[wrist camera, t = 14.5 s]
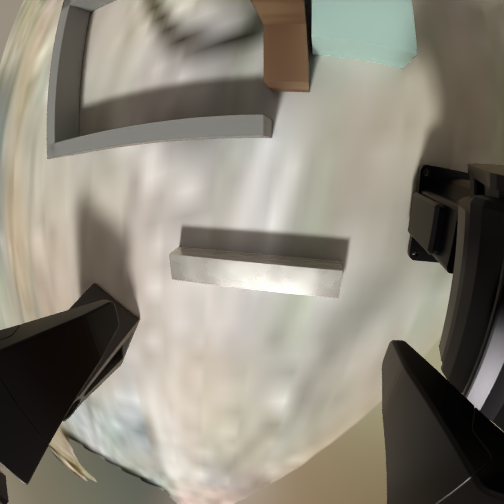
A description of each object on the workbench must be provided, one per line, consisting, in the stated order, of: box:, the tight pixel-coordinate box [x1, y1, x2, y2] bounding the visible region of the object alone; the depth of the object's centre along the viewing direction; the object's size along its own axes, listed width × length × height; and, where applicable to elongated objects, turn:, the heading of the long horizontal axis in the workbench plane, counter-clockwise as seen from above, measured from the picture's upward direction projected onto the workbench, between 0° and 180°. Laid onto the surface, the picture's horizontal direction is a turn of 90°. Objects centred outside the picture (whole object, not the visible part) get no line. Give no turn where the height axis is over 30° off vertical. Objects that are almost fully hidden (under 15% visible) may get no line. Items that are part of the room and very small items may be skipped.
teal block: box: [311, 0, 417, 69], centre depth 11 cm, size 6×6×4 cm
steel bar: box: [169, 246, 343, 298], centre depth 20 cm, size 12×2×2 cm, turn 90°
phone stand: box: [63, 284, 139, 421], centre depth 22 cm, size 9×6×12 cm, turn 148°
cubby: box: [47, 0, 272, 159], centre depth 15 cm, size 18×16×3 cm
